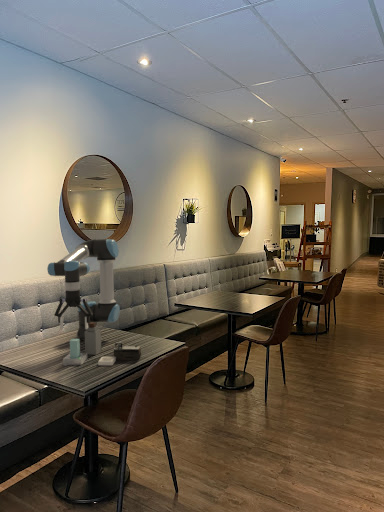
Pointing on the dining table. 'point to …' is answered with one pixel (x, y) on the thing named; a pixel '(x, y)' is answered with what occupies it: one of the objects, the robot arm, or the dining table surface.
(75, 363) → the block
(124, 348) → the camera
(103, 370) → the dining table surface
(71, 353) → the plug
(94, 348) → the perfume bottle
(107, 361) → the holster
